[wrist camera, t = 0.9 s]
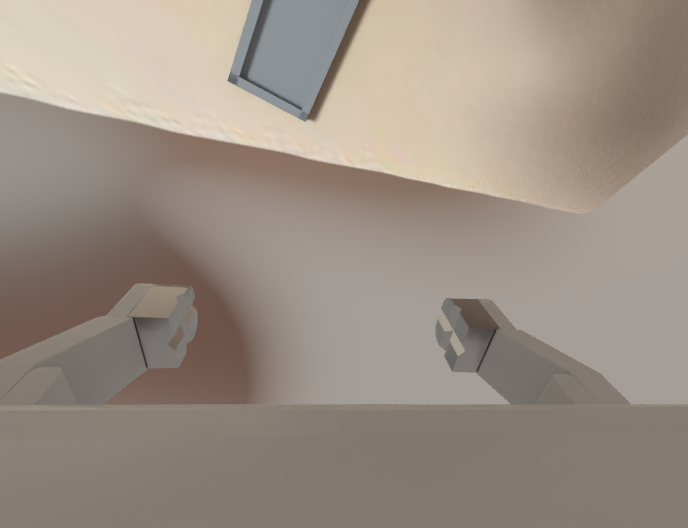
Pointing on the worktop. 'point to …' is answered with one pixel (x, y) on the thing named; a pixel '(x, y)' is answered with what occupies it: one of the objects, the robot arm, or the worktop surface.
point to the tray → (289, 50)
